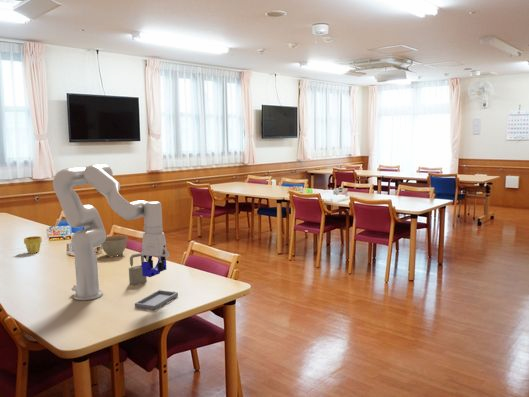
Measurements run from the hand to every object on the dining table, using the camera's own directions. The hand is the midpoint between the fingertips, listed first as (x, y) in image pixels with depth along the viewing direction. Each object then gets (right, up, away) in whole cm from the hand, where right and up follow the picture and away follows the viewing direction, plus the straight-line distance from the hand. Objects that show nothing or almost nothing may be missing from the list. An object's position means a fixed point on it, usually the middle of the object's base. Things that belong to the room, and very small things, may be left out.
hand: (155, 269), depth 198 cm
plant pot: (-103, -4, +95) cm, 141 cm away
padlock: (-16, -12, +29) cm, 35 cm away
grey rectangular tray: (0, -15, +2) cm, 15 cm away
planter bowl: (-47, -5, +86) cm, 98 cm away
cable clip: (0, -2, 0) cm, 2 cm away
